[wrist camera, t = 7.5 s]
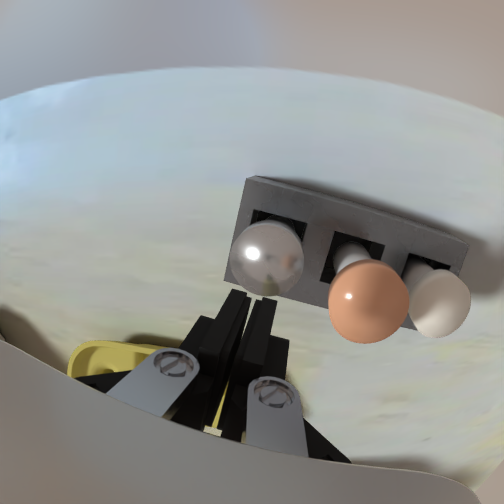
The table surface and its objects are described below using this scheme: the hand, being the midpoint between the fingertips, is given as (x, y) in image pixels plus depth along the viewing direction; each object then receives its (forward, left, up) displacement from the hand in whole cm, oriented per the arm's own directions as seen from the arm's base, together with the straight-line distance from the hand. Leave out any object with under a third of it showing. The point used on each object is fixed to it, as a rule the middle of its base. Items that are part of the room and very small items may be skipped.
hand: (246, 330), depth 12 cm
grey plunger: (0, 0, -16) cm, 17 cm away
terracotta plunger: (-6, 0, -14) cm, 15 cm away
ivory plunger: (-12, 0, -16) cm, 20 cm away
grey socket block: (-6, 0, -17) cm, 18 cm away
